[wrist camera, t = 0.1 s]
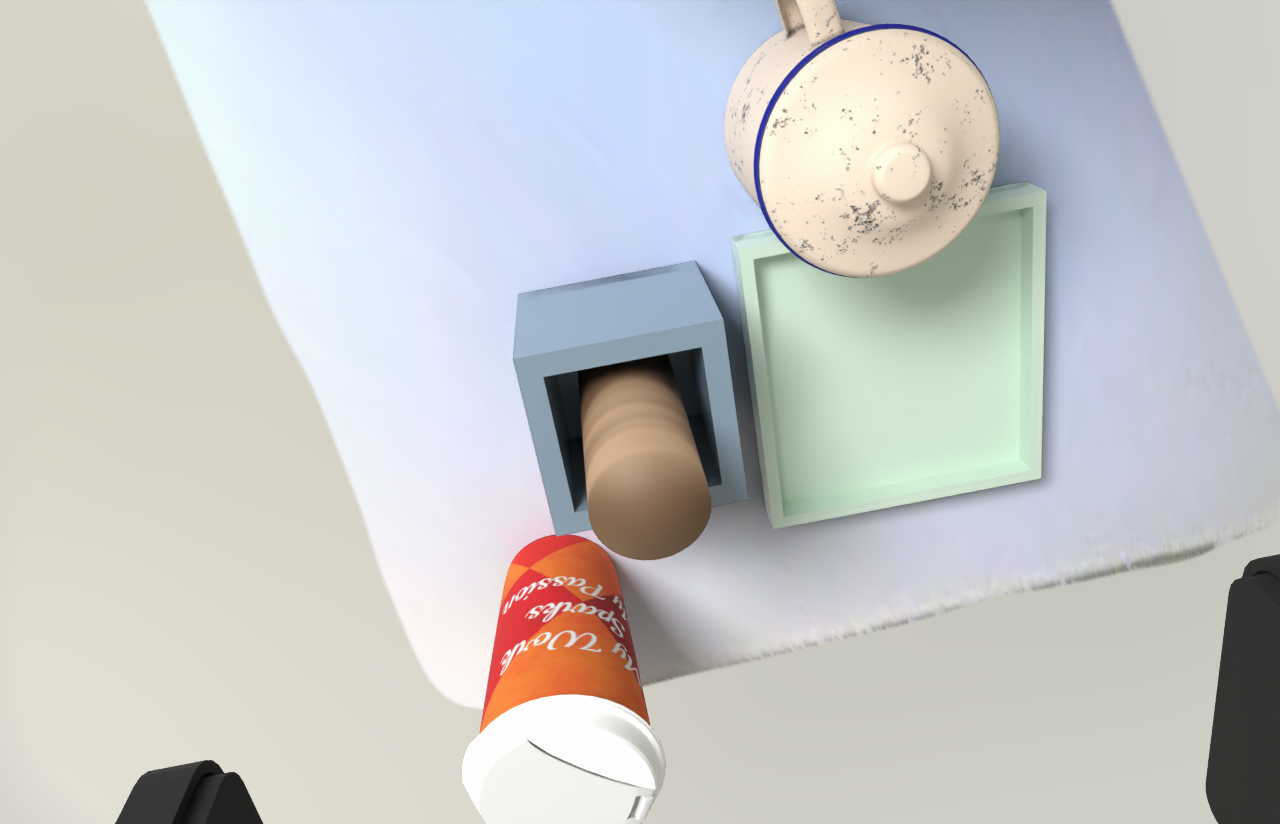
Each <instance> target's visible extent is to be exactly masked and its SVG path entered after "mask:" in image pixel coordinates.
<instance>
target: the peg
mask: <svg viewBox="0 0 1280 824" xmlns="http://www.w3.org/2000/svg"><path fill="white" fill-rule="evenodd" d="M578 384H579V397H580V410H581V423H582V437H583V450H584V463H585V476H586V490H587V503H588V515H589V521H590V524H591V527H592V529H593V531H594V533H595V534H596V536H597V537H598V539H599V540H600V541H601V542H602V543H603V544H604V545H605V546H606V547H607V548H609V549H610V550H612V551H613V552H615V553H617V554H619V555H621V556H624V557H627V558H632V559H637V560H655V559H661V558H665V557H669V556H672V555H674V554H676V553H678V552H680V551H682V550H684V549H685V548H687V547H688V546H690V545H691V544H692V543H693V542H694V541H695V540H696V539H697V538H698V537H699V536H700V535H701V533H702V532H703V530H704V529H705V527H706V525H707V523H708V520H709V517H710V513H711V504H712V503H711V494H710V490H709V487H708V484H707V480H706V477H705V474H704V470H703V467H702V464H701V461H700V457H699V454H698V451H697V448H696V444H695V441H694V438H693V434H692V431H691V428H690V425H689V421H688V418H687V415H686V411H685V408H684V405H683V402H682V398H681V395H680V392H679V388H678V385H677V382H676V379H675V375H674V372H673V369H672V366H671V362H670V359H669V356H668V354H663V355H658V356H652V357H647V358H642V359H636V360H631V361H626V362H621V363H615V364H610V365H605V366H599V367H594V368H589V369H584V370H578Z"/></svg>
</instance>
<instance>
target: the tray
mask: <svg viewBox="0 0 1280 824" xmlns="http://www.w3.org/2000/svg"><path fill="white" fill-rule="evenodd" d="M1046 204H1047V191H1046V190H1044V189H1042V188H1040V187H1037V186H1035V185H1033V184H1031V183H1029V182H1027V181H1026V182H1021V183H1015V184H1010V185H1005V186H999V187H994V188H990V190H989V192H988V194H987V196H986V198H985V201H984V203H983V204H982V206H981V208H980V209H979V211H978V213H977V214H976V216H975V217H974V219H973V220H972V221H971V223H970V224H969V225H968V226H967V228H966V229H965V230H964V231H963V232H962V233H961V234H960V235H959V236H958V237H957V239H956V240H955V241H953V242H952V243H951V244H950V245H949V246H948V247H946V248H945V249H944V250H943V251H941V252H940V253H938V254H937V255H936V256H934V257H932V258H931V259H929V260H928V261H926V262H924V263H922V264H920V265H918V266H916V267H914V268H911V269H908V270H906V271H903V272H900V273H896V274H893V275H887V276H882V277H872V278H852V277H843V276H838V275H833V274H830V273H827V272H824V271H821V270H819V269H817V268H814V267H812V266H811V265H809V264H807V263H805V262H803V261H802V260H801V259H799V258H798V257H796V256H795V255H794V254H793V253H791V252H790V251H789V250H788V249H787V248H786V247H785V246H784V245H783V244H782V243H781V242H780V240H779V239H778V238H777V237H776V235H775V234H774V233H773V231H772V230H766V231H761V232H755V233H750V234H745V235H739V236H734V237H731V243H732V251H733V259H734V266H735V274H736V282H737V290H738V298H739V305H740V313H741V321H742V329H743V337H744V344H745V352H746V360H747V368H748V376H749V383H750V391H751V399H752V407H753V415H754V422H755V430H756V438H757V446H758V454H759V461H760V469H761V477H762V485H763V493H764V501H765V508H766V511H767V514H768V517H769V519H770V522H771V524H772V527H773V529H779V528H784V527H789V526H794V525H800V524H805V523H810V522H815V521H821V520H826V519H831V518H836V517H842V516H847V515H852V514H857V513H862V512H868V511H873V510H878V509H883V508H889V507H894V506H899V505H904V504H910V503H915V502H920V501H925V500H931V499H936V498H941V497H946V496H952V495H957V494H962V493H967V492H973V491H978V490H983V489H988V488H994V487H999V486H1004V485H1009V484H1015V483H1020V482H1025V481H1030V480H1036V479H1041V459H1042V408H1043V357H1044V306H1045V255H1046Z"/></svg>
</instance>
